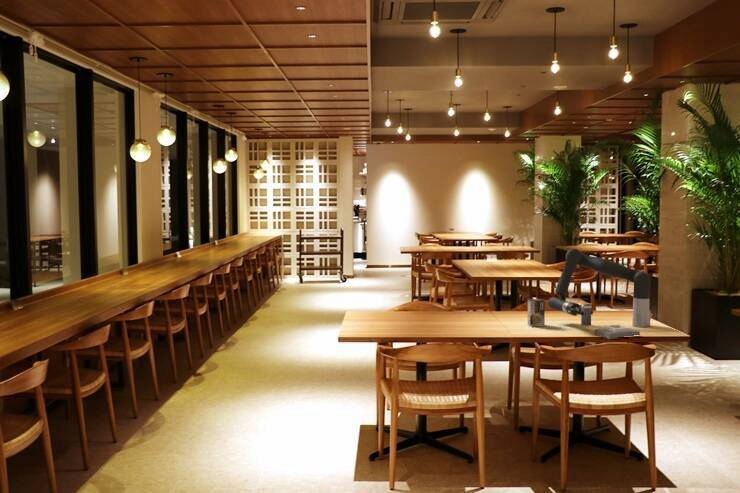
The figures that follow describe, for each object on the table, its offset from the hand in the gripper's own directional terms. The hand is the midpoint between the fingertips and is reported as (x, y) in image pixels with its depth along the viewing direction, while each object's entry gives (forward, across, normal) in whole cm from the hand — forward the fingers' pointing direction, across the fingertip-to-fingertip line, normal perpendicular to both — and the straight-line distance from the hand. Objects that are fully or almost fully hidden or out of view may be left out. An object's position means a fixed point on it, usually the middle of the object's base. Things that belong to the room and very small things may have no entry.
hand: (587, 313), depth 399 cm
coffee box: (-30, -16, +12) cm, 36 cm away
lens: (-2, 0, +7) cm, 7 cm away
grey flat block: (+8, +14, +12) cm, 20 cm away
